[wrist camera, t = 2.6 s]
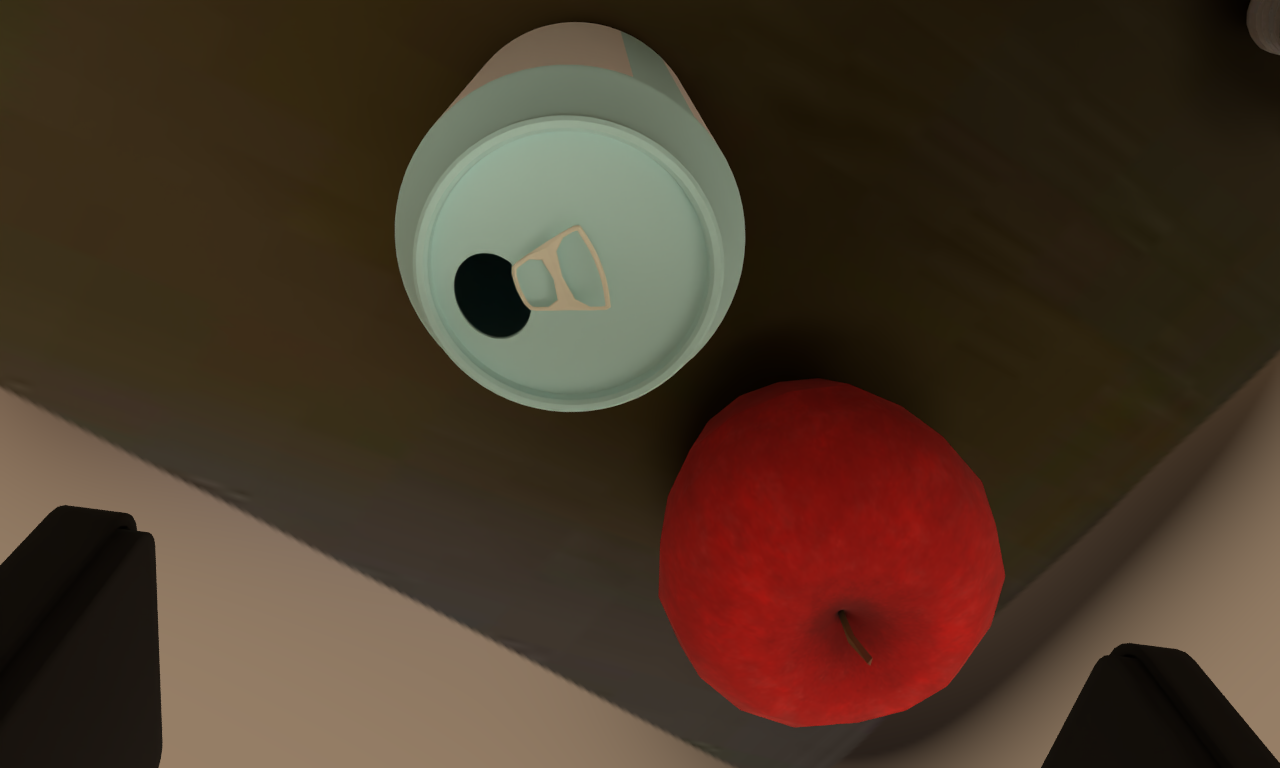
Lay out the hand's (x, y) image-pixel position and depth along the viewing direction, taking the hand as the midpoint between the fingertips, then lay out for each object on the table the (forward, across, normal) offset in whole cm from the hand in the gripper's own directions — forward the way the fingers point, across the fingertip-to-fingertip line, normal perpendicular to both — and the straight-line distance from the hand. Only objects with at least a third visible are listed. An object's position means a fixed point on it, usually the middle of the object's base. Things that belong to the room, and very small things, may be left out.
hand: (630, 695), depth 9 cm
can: (+22, +1, -1) cm, 22 cm away
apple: (+22, -8, +8) cm, 24 cm away
